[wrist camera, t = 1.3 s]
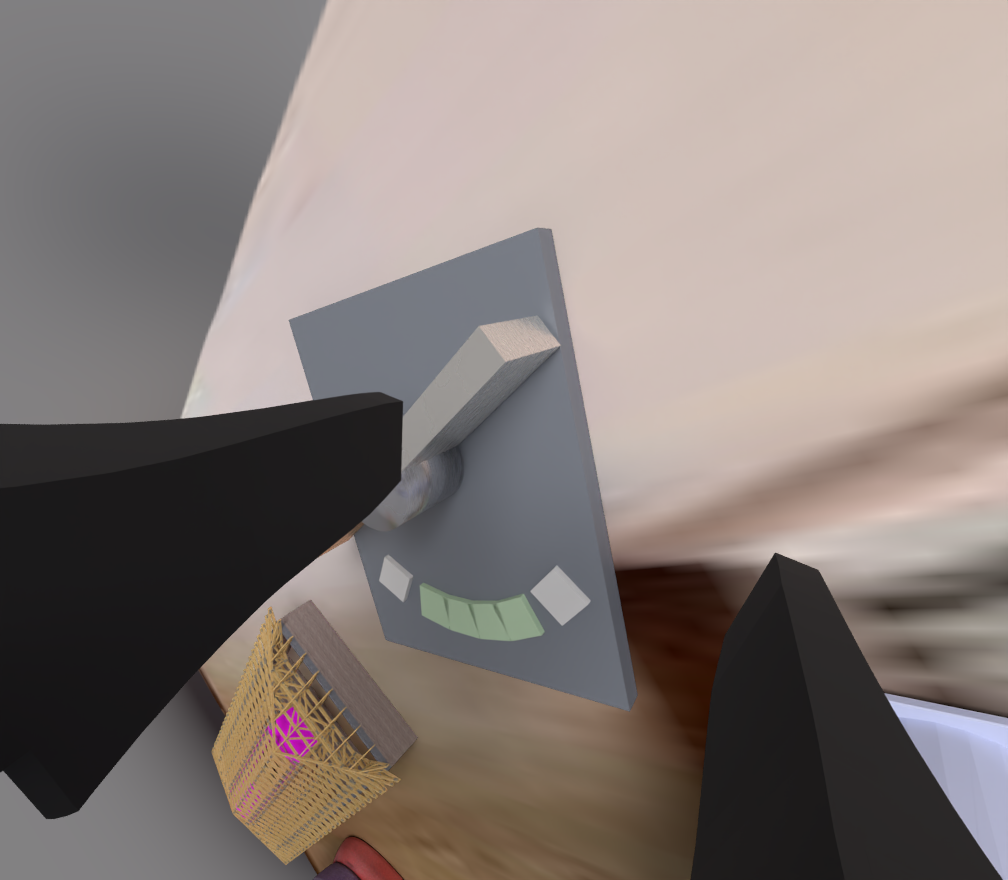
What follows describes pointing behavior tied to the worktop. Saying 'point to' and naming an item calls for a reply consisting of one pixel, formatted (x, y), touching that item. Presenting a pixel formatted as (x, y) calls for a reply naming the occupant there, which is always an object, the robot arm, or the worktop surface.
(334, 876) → the stacking bear
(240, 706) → the rafter model
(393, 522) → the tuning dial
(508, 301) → the plate
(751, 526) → the worktop surface
